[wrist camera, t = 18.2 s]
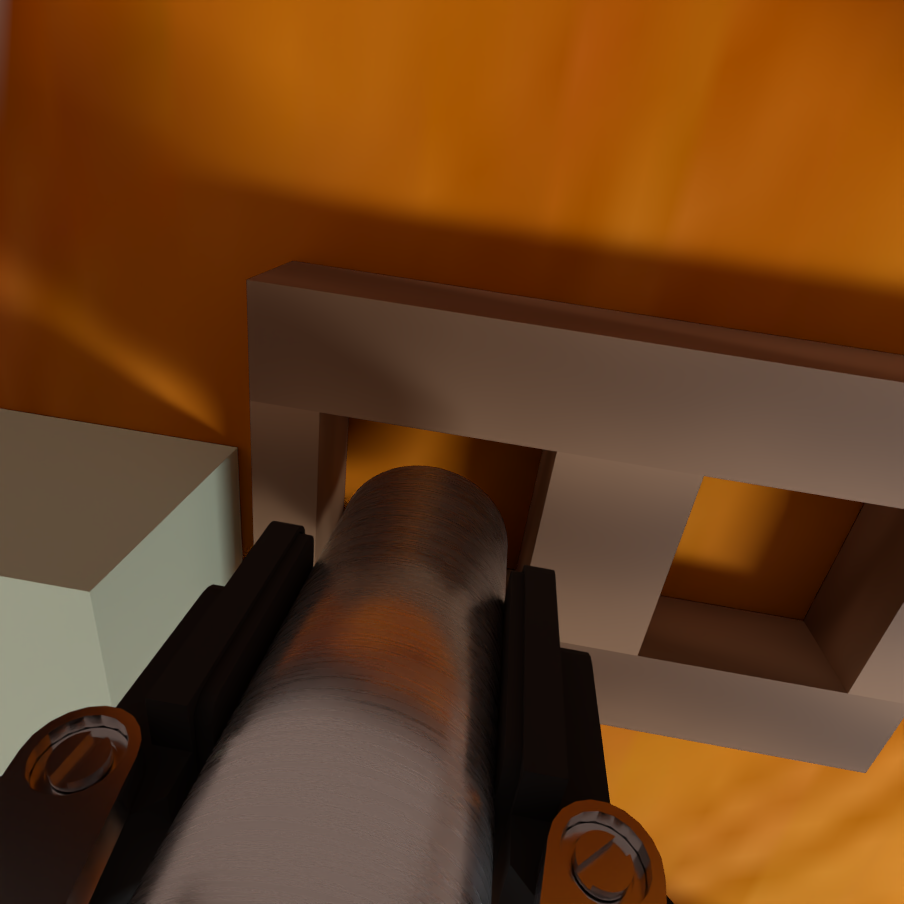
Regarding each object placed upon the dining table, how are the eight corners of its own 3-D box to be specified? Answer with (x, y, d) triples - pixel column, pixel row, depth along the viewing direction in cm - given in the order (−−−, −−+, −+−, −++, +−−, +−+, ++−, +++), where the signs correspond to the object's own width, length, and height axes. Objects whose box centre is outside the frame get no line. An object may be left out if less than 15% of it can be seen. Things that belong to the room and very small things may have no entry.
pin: (500, 616, 13) (462, 1304, 5) (344, 598, 14) (72, 1222, 5) (515, 474, 12) (495, 1128, 4) (339, 457, 12) (-47, 1029, 4)
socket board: (821, 694, 17) (865, 773, 15) (289, 598, 18) (256, 660, 16) (1009, 371, 13) (1112, 415, 11) (292, 260, 13) (246, 279, 11)
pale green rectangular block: (244, 617, 18) (130, 801, 13) (-27, 568, 19) (-246, 728, 14) (237, 447, 16) (90, 592, 10) (-80, 395, 16) (-378, 508, 11)
